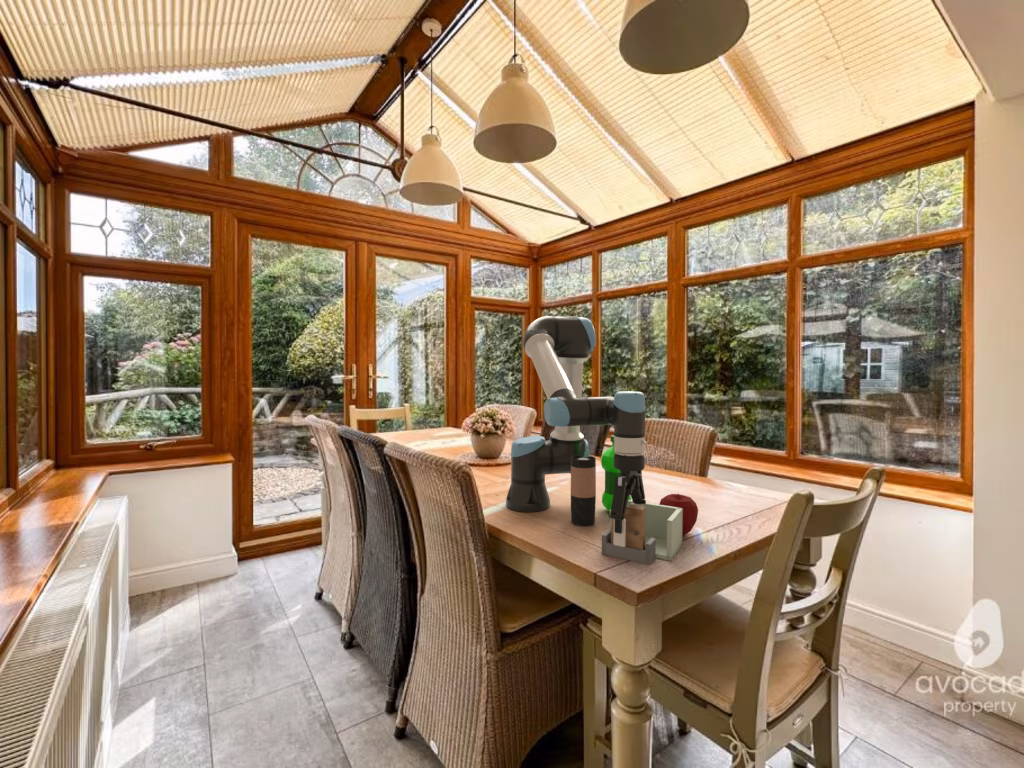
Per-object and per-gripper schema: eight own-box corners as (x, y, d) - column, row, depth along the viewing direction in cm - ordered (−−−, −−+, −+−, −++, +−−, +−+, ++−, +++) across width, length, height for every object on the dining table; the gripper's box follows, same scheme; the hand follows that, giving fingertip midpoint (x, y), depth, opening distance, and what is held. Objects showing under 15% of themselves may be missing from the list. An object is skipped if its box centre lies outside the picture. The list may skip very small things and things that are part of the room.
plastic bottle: (613, 517, 148) (614, 439, 147) (594, 508, 158) (595, 434, 157) (639, 513, 152) (639, 437, 151) (619, 504, 162) (619, 432, 161)
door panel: (610, 555, 119) (610, 505, 118) (614, 552, 121) (614, 502, 121) (641, 562, 115) (642, 510, 114) (644, 558, 117) (645, 507, 117)
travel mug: (580, 528, 139) (580, 461, 138) (565, 520, 146) (565, 456, 145) (600, 524, 143) (601, 458, 142) (585, 516, 149) (585, 454, 149)
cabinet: (601, 554, 120) (601, 515, 120) (623, 533, 134) (623, 499, 134) (666, 568, 111) (666, 527, 111) (682, 545, 126) (682, 508, 125)
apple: (653, 526, 140) (654, 488, 139) (689, 527, 140) (690, 488, 139) (664, 540, 129) (664, 498, 128) (703, 541, 129) (704, 499, 128)
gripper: (627, 463, 105) (627, 556, 106) (657, 446, 126) (656, 524, 127) (596, 460, 109) (595, 550, 110) (630, 444, 130) (629, 520, 131)
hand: (628, 536), depth 118 cm, fingers open, 13 cm apart
